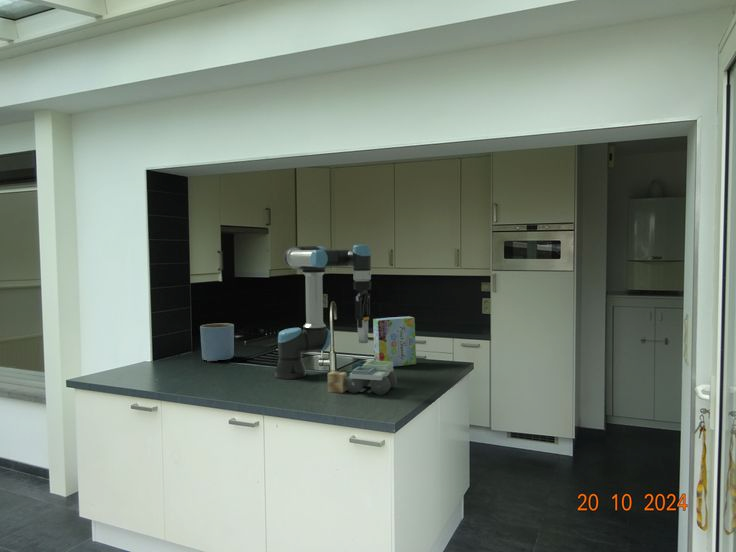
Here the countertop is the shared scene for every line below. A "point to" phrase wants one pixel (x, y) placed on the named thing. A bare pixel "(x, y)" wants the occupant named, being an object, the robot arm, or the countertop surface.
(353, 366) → the bracket
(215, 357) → the planter
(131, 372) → the countertop surface
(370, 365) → the tray
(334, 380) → the chock
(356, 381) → the cart
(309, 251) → the robot arm
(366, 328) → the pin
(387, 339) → the snack box
